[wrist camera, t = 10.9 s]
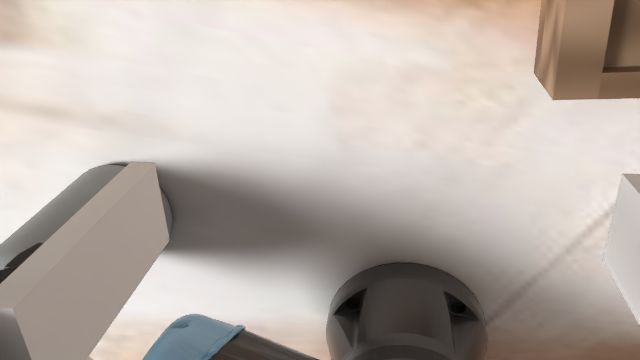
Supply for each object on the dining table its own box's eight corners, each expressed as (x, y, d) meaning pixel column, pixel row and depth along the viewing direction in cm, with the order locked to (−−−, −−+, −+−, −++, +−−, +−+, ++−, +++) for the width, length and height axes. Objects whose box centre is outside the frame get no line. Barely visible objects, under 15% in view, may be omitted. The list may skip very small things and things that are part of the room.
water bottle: (187, 183, 49) (-33, 472, 24) (170, 263, 54) (-29, 573, 29) (81, 146, 49) (-250, 401, 24) (73, 230, 53) (-210, 514, 29)
